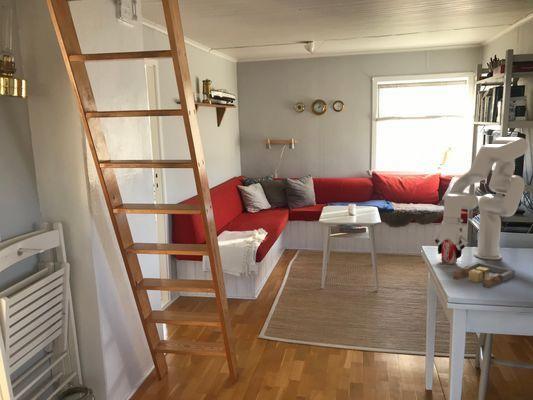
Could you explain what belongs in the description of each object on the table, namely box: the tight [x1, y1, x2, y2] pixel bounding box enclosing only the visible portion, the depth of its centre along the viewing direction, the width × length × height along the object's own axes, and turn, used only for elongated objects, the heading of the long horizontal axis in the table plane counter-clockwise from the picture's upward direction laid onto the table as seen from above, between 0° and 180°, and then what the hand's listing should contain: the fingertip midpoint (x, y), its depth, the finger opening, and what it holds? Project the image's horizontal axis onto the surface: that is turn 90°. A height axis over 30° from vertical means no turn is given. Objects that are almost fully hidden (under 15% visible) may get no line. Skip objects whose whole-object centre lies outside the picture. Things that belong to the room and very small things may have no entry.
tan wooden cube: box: [468, 269, 483, 283], centre depth 188 cm, size 4×4×4 cm
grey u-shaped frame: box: [464, 261, 516, 282], centre depth 196 cm, size 12×17×2 cm
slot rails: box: [453, 265, 501, 288], centre depth 189 cm, size 12×14×3 cm
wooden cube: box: [476, 267, 490, 280], centre depth 192 cm, size 4×4×4 cm
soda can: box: [440, 239, 458, 265], centre depth 212 cm, size 7×7×12 cm
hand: (449, 255), depth 213 cm, fingers open, 8 cm apart
